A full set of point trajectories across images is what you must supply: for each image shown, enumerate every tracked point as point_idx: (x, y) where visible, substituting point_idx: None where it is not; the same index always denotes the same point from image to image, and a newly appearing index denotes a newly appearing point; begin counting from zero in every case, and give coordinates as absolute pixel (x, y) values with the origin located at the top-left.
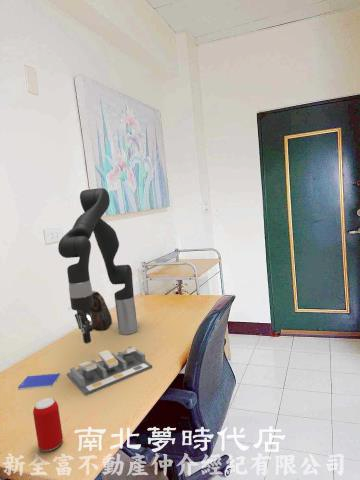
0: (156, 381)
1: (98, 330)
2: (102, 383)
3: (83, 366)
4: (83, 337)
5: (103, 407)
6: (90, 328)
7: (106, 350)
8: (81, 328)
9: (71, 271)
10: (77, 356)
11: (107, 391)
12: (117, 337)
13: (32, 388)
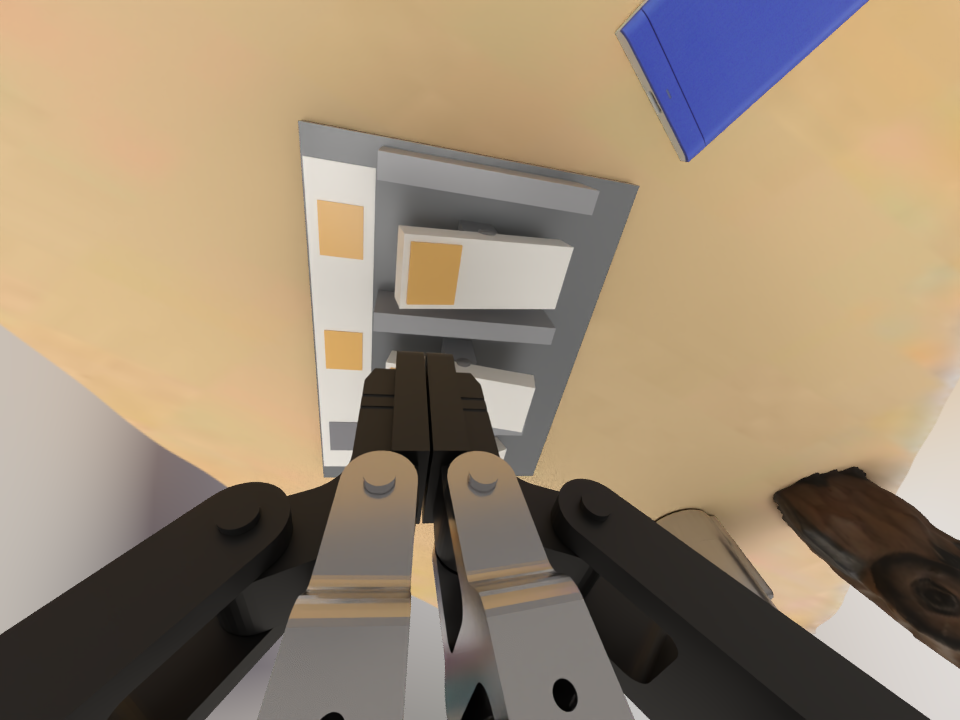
0: (186, 429)
1: (805, 478)
2: (331, 258)
3: (470, 238)
4: (434, 396)
5: (56, 111)
6: (224, 631)
7: (519, 426)
8: (485, 525)
9: None
10: (739, 329)
11: (257, 239)
12: (681, 493)
13: None
